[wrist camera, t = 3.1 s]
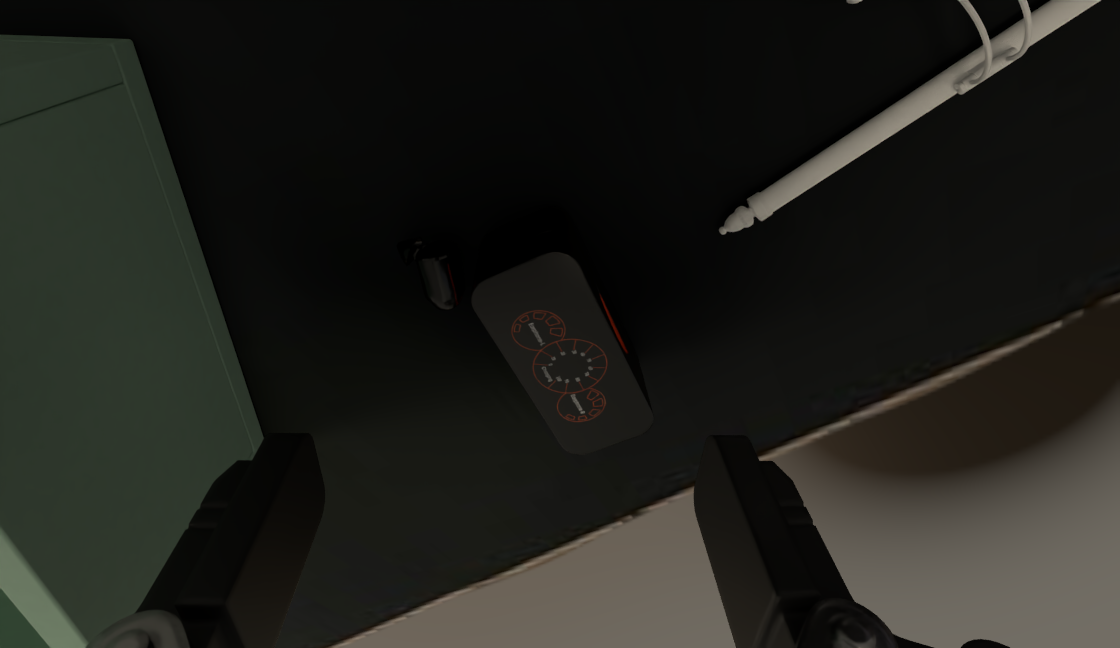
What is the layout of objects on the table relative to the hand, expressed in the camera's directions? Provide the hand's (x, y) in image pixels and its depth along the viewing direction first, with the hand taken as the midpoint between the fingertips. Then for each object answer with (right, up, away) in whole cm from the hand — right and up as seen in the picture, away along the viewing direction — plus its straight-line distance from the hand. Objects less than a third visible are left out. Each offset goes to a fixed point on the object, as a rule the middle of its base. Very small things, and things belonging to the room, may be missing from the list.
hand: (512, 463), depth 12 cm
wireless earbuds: (0, +4, +6) cm, 7 cm away
